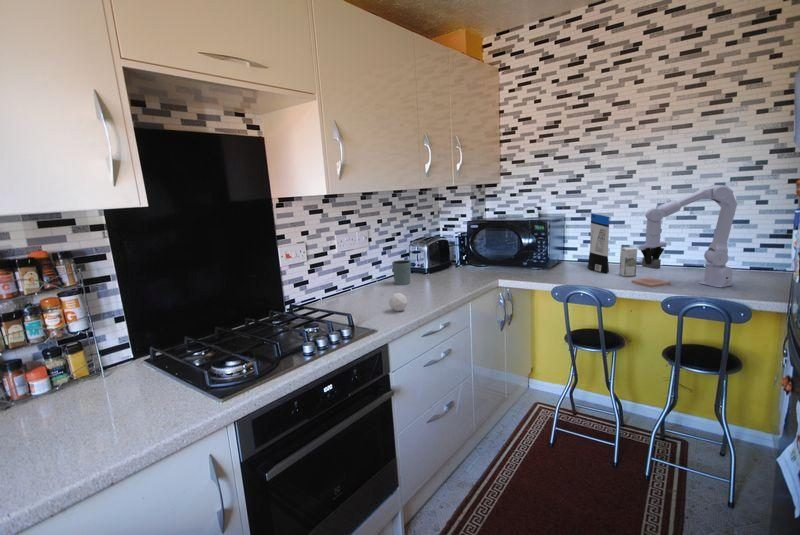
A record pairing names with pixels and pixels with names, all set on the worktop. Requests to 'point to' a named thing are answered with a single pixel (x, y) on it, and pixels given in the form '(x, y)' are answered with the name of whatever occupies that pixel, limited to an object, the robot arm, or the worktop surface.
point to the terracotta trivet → (650, 282)
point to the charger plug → (651, 263)
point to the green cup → (401, 272)
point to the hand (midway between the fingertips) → (651, 263)
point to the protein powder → (599, 244)
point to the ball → (398, 302)
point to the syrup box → (628, 261)
